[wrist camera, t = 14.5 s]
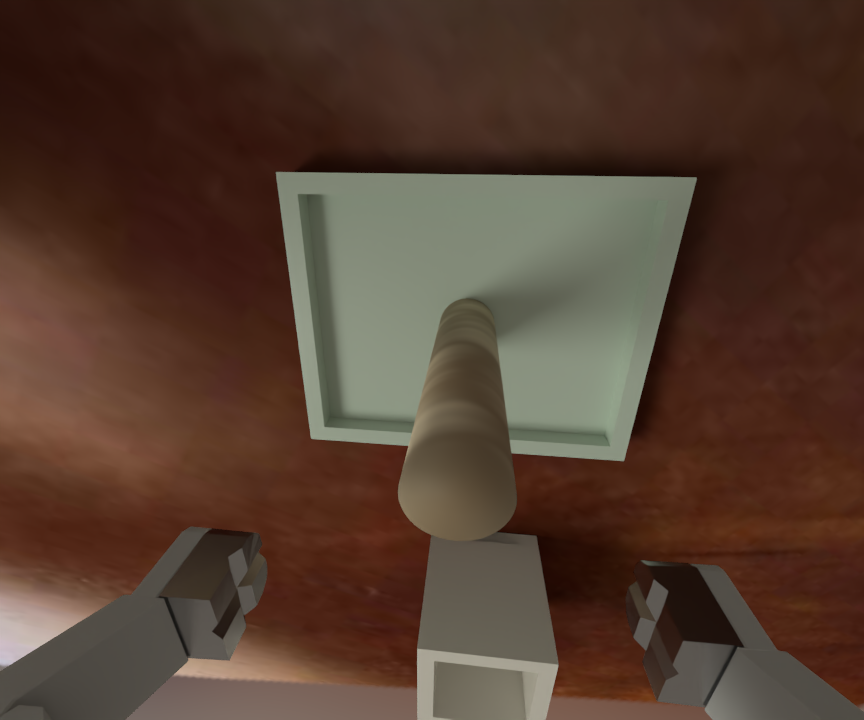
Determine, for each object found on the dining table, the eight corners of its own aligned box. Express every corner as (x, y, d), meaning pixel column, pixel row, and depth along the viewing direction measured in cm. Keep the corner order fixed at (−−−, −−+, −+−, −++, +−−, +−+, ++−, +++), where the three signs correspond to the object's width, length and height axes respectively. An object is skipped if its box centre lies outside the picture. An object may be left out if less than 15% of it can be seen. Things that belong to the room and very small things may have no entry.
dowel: (439, 348, 24) (399, 535, 12) (440, 297, 23) (396, 444, 10) (492, 351, 24) (510, 545, 11) (496, 299, 23) (522, 454, 10)
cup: (431, 595, 35) (417, 723, 26) (432, 526, 31) (417, 648, 23) (525, 604, 34) (540, 739, 26) (536, 535, 31) (558, 664, 22)
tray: (321, 422, 28) (311, 438, 26) (292, 172, 22) (275, 172, 20) (613, 441, 27) (623, 461, 25) (677, 177, 20) (697, 177, 18)
